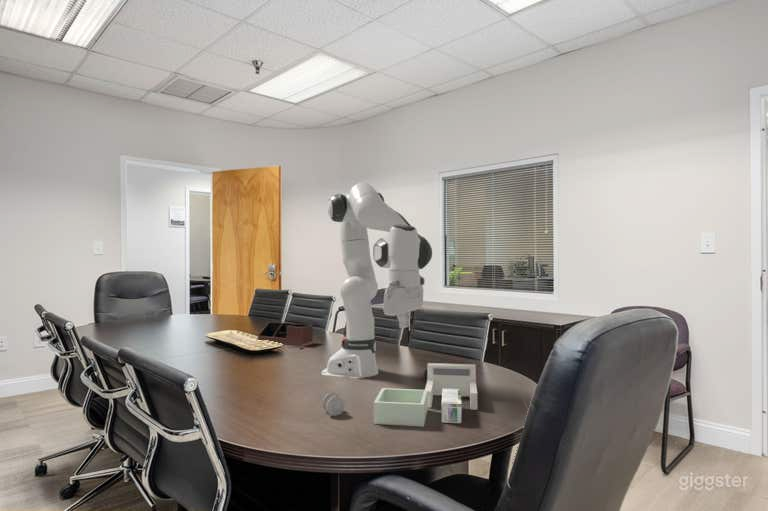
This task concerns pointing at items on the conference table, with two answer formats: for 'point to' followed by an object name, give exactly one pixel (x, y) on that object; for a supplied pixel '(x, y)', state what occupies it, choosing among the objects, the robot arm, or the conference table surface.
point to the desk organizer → (288, 333)
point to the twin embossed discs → (333, 404)
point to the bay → (451, 381)
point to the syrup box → (451, 406)
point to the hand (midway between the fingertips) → (403, 327)
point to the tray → (400, 407)
